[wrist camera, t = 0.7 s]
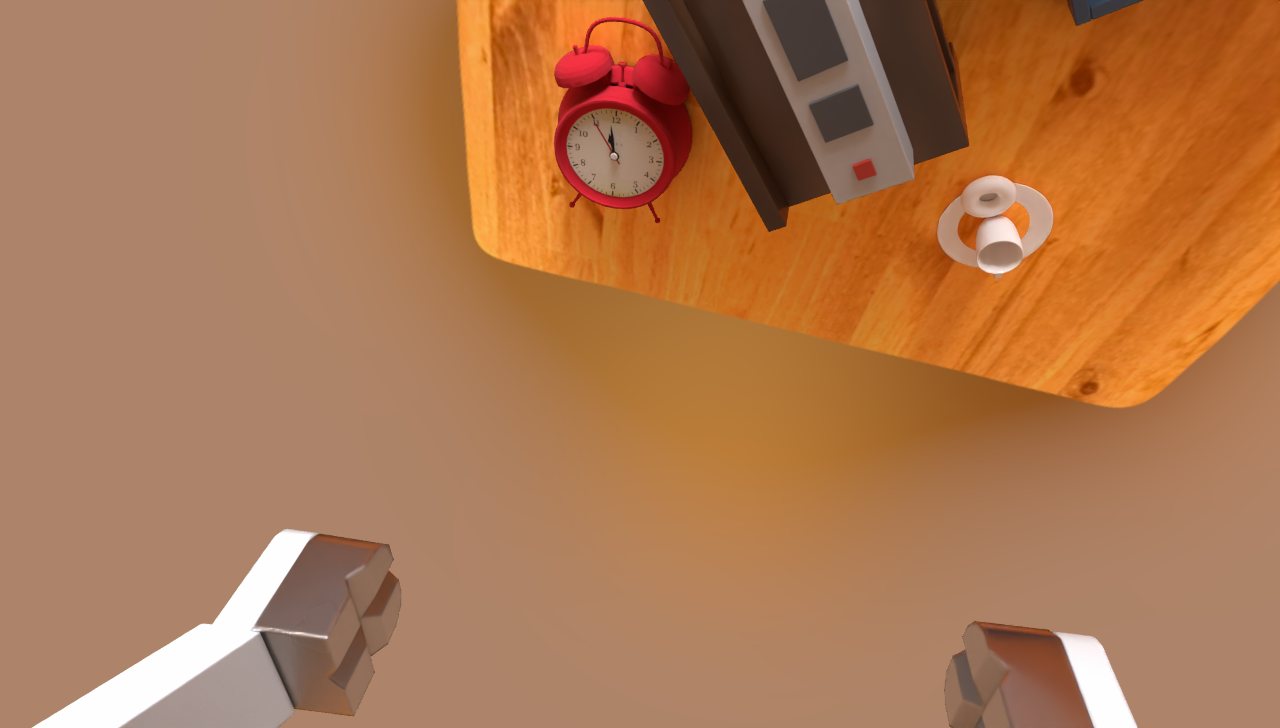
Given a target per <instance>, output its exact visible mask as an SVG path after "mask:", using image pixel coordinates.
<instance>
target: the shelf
mask: <svg viewBox="0 0 1280 728" xmlns="http://www.w3.org/2000/svg"><path fill="white" fill-rule="evenodd" d="M643 2H644V4H645V6H646V8H647V9H648V11H649V13H650V15H651V17H652V19H653V20H654V22H655V24H656V26H657V28H658V30H659V31H660V33H661V35H662V37H663V39H664V41H665V42H666V44H667V46H668V48H669V50H670V52H671V53H672V55H673V57H674V59H675V61H676V63H677V64H678V66H679V68H680V70H681V72H682V74H683V75H684V77H685V79H686V81H687V83H688V85H689V86H690V88H691V90H692V92H693V94H694V96H695V97H696V99H697V101H698V103H699V105H700V107H701V108H702V110H703V112H704V114H705V116H706V118H707V119H708V121H709V123H710V125H711V127H712V129H713V130H714V132H715V134H716V136H717V138H718V140H719V141H720V143H721V145H722V147H723V149H724V151H725V152H726V154H727V156H728V158H729V160H730V162H731V163H732V165H733V167H734V169H735V171H736V173H737V174H738V176H739V178H740V180H741V182H742V184H743V185H744V187H745V189H746V191H747V193H748V195H749V196H750V198H751V200H752V202H753V204H754V206H755V207H756V209H757V211H758V213H759V215H760V217H761V218H762V220H763V222H764V224H765V226H766V228H767V229H768V231H769V232H770V231H773V230H776V229H780V228H783V227H786V225H787V218H788V211H789V207H790V206H793V205H796V204H799V203H802V202H805V201H808V200H811V199H814V198H817V197H820V196H823V195H826V194H828V193H831V191H830V189H829V187H828V185H827V183H826V180H825V178H824V176H823V174H822V172H821V170H820V167H819V165H818V163H817V161H816V159H815V157H814V154H813V152H812V150H811V148H810V146H809V144H808V142H807V139H806V137H805V135H804V133H803V131H802V129H801V126H800V124H799V122H798V120H797V118H796V116H795V113H794V111H793V109H792V107H791V105H790V103H789V100H788V98H787V96H786V94H785V92H784V90H783V87H782V85H781V83H780V81H779V79H778V77H777V74H776V72H775V70H774V68H773V66H772V64H771V62H770V59H769V57H768V55H767V53H766V51H765V49H764V46H763V44H762V42H761V40H760V38H759V36H758V33H757V31H756V29H755V27H754V25H753V23H752V20H751V18H750V16H749V14H748V12H747V10H746V7H745V5H744V3H743V1H742V0H643ZM859 3H860V6H861V9H862V11H863V14H864V17H865V20H866V22H867V25H868V28H869V30H870V33H871V36H872V39H873V41H874V44H875V47H876V50H877V52H878V55H879V58H880V61H881V63H882V66H883V69H884V71H885V74H886V77H887V80H888V82H889V85H890V88H891V91H892V93H893V96H894V99H895V102H896V104H897V107H898V110H899V112H900V115H901V118H902V121H903V123H904V126H905V129H906V132H907V134H908V137H909V140H910V143H911V145H912V148H913V159H914V165H915V164H918V163H920V162H923V161H926V160H929V159H932V158H935V157H938V156H941V155H944V154H947V153H950V152H953V151H956V150H959V149H962V148H965V147H968V146H969V139H968V132H967V125H966V117H965V110H964V103H963V96H962V88H961V81H960V74H959V67H958V61H957V58H956V54H955V51H954V48H953V44H952V42H950V43H948V40H947V37H946V34H945V30H944V27H943V24H942V20H941V17H940V14H939V10H938V7H937V4H936V0H859Z"/></svg>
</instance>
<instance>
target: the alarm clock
mask: <svg viewBox="0 0 1280 728" xmlns="http://www.w3.org/2000/svg"><path fill="white" fill-rule="evenodd" d="M614 21H615V22H625V23H630V24H634V25H637V26H639V27H641V28H644V29H645V30H647V31H648V32H649V33H651V35H652V36H653V37H654V39H655V41H656V43H657V46H658V50H659V55H652V54H651V55H647V56H644V57H643V58H641V59H640V60H639V61H638V62H637V64H636V65H635V67H630V66H626V65H627V63H624V62H620V63H619V65H613V64H614V62H613V59H612V57H611V55H610V53H609V51H608V50H607V49H605V48H603V47H601V46H588V44H589V38H590V34H591V32H592V30H593V28H594V27H596V26H597V25H598V24H600V23H604V22H614ZM573 49H574V50H573V51H571V52H570V53H568V54H566V55H565V56H564V57H562V58H561V59H560V61H559V62H558V63H557V65H556V67H555V73H554V75H555V79H556V82H557V84H558V86H559V87H562V88H569V89H568V91H567V92H566V94H565V96H564V98H563V100H562V102H561V105H560V109H559V114H558V125H557V128H556V132H555V139H554V147H555V156H556V160H557V163H558V166H559V168H560V170H561V172H562V174H563V176H564V177H565V179H566V180H567V181H568V183H569V184H570V185H571V186H572V187H573V188H574V189H575V190H576V191H577V192H579V193H578V195H577V197H576V198H575V199H574V201H573V202H570V207H574V206H575V203H576V201H577V200H578V199H579V198H580V197H581V195H583V196H584V197H585V198H587V199H589V200H591V201H593V202H595V203H597V204H599V205H602V206H606V207H610V208H616V209H631V208H637V207H641V206H644V205H646V204H648V206H649V208H650V210H651V211H652V213H653V215H654V217H655V222H656V223H659V222H660V218H658V217H657V215H656V213H655V211H654V208H653V205H652V203H651V202H652V201H654V200H655V199H657V198H658V197H659V196H660V195H661V194H662V193H664V191H665V190H666V189H667V188H668V186H669V185H670V184H671V182H672V180H673V178H674V177H675V176H677V175H678V173H679V172H680V171H681V170H682V168H683V167H684V165H685V163H686V161H687V159H688V156H689V153H690V149H691V144H692V128H691V123H690V119H689V116H688V113H687V111H686V109H685V107H684V105H683V102H685V101H686V99H687V97H688V95H689V92H690V86H689V85H688V83H687V81H686V79H685V77H684V75H683V74H682V72H681V70H680V68H679V66H678V64H677V63H676V62H674V61H672V60H671V59H669V58H666V57H663V51H662V46H661V43H660V40H659V38H658V36H657V35H656V33H655V32H654V31H653V30H652V29H651V28H650V27H648V26H647V25H645V24H643V23H641V22H638V21H635V20H631V19H626V18H617V17H609V18H602V19H600V20H597V21H595V22H594V23H593V24H592V25H591V26H590V28H589V29H588V31H587V35H586V39H585V46H584V47H582V48H579V49H578V47H577V45H574V46H573Z"/></svg>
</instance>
